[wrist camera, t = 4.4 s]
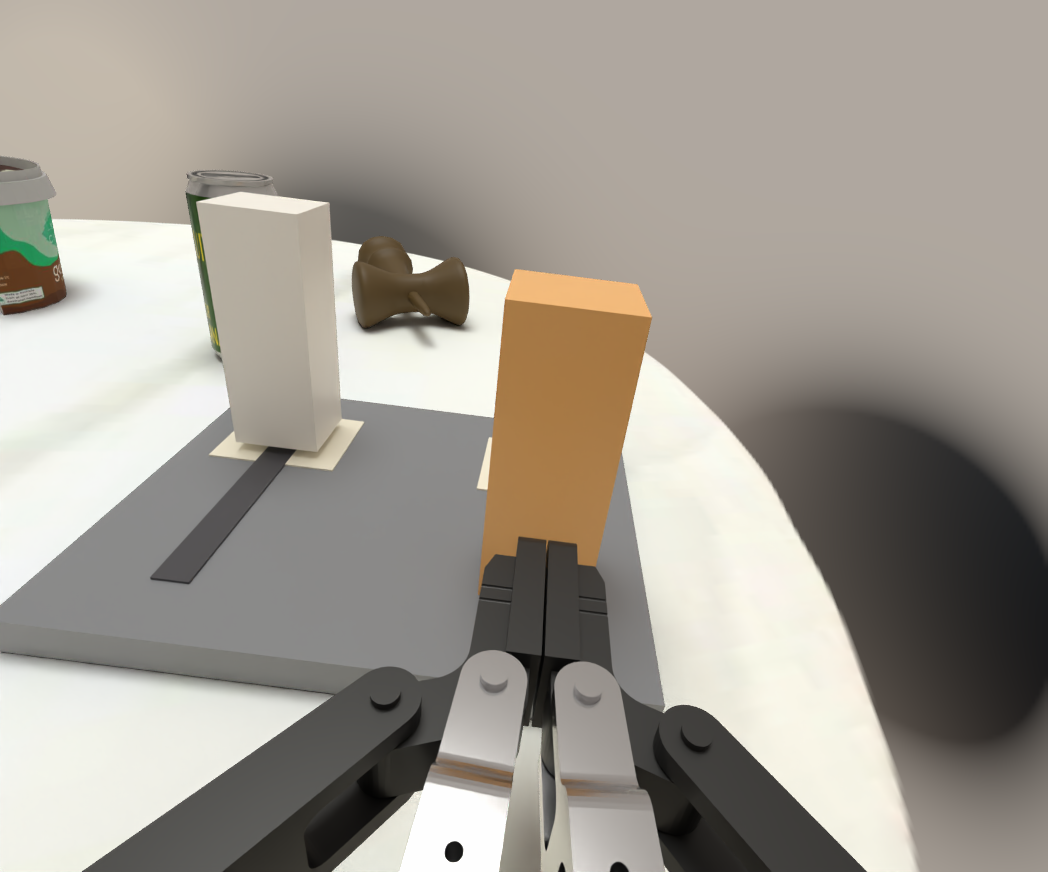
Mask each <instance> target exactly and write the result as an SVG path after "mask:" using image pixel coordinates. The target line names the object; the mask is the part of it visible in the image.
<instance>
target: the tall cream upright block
mask: <svg viewBox="0 0 1048 872" xmlns="http://www.w3.org/2000/svg"><path fill="white" fill-rule="evenodd" d="M196 204H197V210H198V216H199V222H200V228H201V234H202V240H203V246H204V252H205V258H206V264H207V270H208V276H209V282H210V288H211V295H212V301H213V307H214V313H215V319H216V325H217V331H218V337H219V343H220V349H221V355H222V361H223V367H224V373H225V379H226V385H227V391H228V397H229V403H230V409H231V415H232V421H233V427H234V433H235V439H236V442H240V443H248V444H256V445H264V446H272V447H280V448H288V449H296V450H304V451H312V452H318V450H319V449H320V448H321V446H322V445H323V444H324V442H325V441H326V440H327V438H328V437H329V435H330V434H331V433H332V431H333V430H334V429H335V427H336V426H337V425H338V423H339V422H340V421H341V419H342V416H341V399H340V382H339V364H338V347H337V330H336V313H335V295H334V278H333V261H332V244H331V226H330V210H329V203H326V202H318V201H309V200H301V199H294V198H285V197H278V196H270V195H262V194H254V193H246V192H237V193H233V194H229V195H224V196H220V197H215V198H211V199H207V200H202V201H198V202H196Z"/></svg>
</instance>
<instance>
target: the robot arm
mask: <svg viewBox="0 0 1048 872" xmlns="http://www.w3.org/2000/svg"><path fill="white" fill-rule="evenodd" d="M607 614H608V612H607V603H606V589H605V582H604V580H603V578H602V577H601V575H600V573H599V572H598V570H597V568H596V567H595V566H587V565H579V564H578V555H577V544H576V543H569V542H561V541H553V540H548V544H547V550H546V540H544V539H536V538H528V537H520V536H519V537H518V544H517V551H516V557H515V556H507V555H499V554H495V555H494V557H493V558H492V559H491V560H490V561H489V563H488V564H487V565H486V566H485V568H484V574H483V579H482V586H481V591H480V596H479V602H478V607H477V613H476V618H475V624H474V630H473V635H472V641H471V646H470V651H469V654H468V656H467V658H466V660H465V661H464V663H463V664H462V665H461V666H460V667H459V668H457V669H456V670H455V671H453V672H451V673H450V674H447V675H445V676H442V677H438V678H433V679H427V680H422V681H418V680H417V679H416V677H415V676H414V675H413V674H412V673H410V672H409V671H407V670H405V669H402V668H399V667H392V666H387V667H380V668H377V669H374V670H372V671H369V672H368V673H366V674H364V675H363V676H362V677H360V678H359V679H357V680H356V681H354V682H353V683H352V684H350V685H349V686H347V687H346V688H344V689H343V690H341V691H340V692H339V693H337V694H336V695H334V696H333V697H331V698H330V699H329V700H327V701H326V702H324V703H323V704H321V705H320V706H319V707H317V708H316V709H314V710H313V711H311V712H310V713H309V714H307V715H306V716H304V717H303V718H301V719H300V720H298V721H297V722H296V723H294V724H293V725H291V726H290V727H288V728H287V729H286V730H284V731H283V732H281V733H280V734H278V735H277V736H276V737H274V738H273V739H271V740H270V741H268V742H267V743H265V744H264V745H263V746H261V747H260V748H258V749H257V750H255V751H254V752H253V753H251V754H250V755H248V756H247V757H245V758H244V759H243V760H241V761H240V762H238V763H237V764H235V765H234V766H233V767H231V768H230V769H228V770H227V771H225V772H224V773H222V774H221V775H220V776H218V777H217V778H215V779H214V780H212V781H211V782H210V783H208V784H207V785H205V786H204V787H202V788H201V789H200V790H198V791H197V792H195V793H194V794H192V795H191V796H189V797H188V798H187V799H185V800H184V801H182V802H181V803H179V804H178V805H177V806H175V807H174V808H172V809H171V810H169V811H168V812H167V813H165V814H164V815H162V816H161V817H159V818H158V819H157V820H155V821H154V822H152V823H151V824H149V825H148V826H146V827H145V828H144V829H142V830H141V831H139V832H138V833H136V834H135V835H134V836H132V837H131V838H129V839H128V840H126V841H125V842H124V843H122V844H121V845H119V846H118V847H116V848H115V849H113V850H112V851H111V852H109V853H108V854H106V855H105V856H103V857H102V858H101V859H99V860H98V861H96V862H95V863H93V864H92V865H91V866H89V867H88V868H86V869H85V870H83V871H82V872H332V871H333V870H334V869H335V868H336V867H337V866H338V865H339V864H340V863H341V862H342V861H343V860H345V859H346V858H347V857H348V856H349V855H350V854H351V853H352V852H353V851H354V850H355V849H356V848H357V847H359V846H360V845H361V844H362V843H363V842H364V841H365V840H366V839H367V838H368V837H369V836H370V835H371V834H372V833H374V832H375V831H376V830H377V829H378V828H379V827H380V826H381V825H382V824H383V823H384V822H385V821H386V820H387V819H389V818H390V817H391V816H392V815H393V814H394V813H395V812H396V811H397V810H398V809H399V808H400V807H401V806H402V805H404V804H405V803H406V802H407V801H408V800H409V799H410V797H411V796H412V795H413V793H414V792H417V791H421V790H423V793H422V796H421V800H420V803H419V807H418V810H417V813H416V817H415V820H414V824H413V827H412V831H411V834H410V838H409V841H408V845H407V848H406V852H405V855H404V859H403V862H402V866H401V869H400V872H499V866H500V859H501V853H502V846H503V840H504V833H505V827H506V820H507V814H508V807H509V801H510V794H511V788H512V781H513V773H514V766H515V760H516V757H517V755H518V752H519V747H520V741H521V736H522V730H523V726H529V721H530V715H531V710H532V727H539V728H542V741H541V751H540V755H539V760H538V778H539V809H540V840H541V871H540V872H665V868H664V866H665V867H666V868H667V870H668V871H669V872H867V871H866V870H865V869H864V868H863V867H862V866H861V865H860V864H859V863H858V862H857V861H856V860H855V859H854V858H853V857H852V856H851V855H850V854H849V853H848V852H847V851H846V850H845V849H844V848H843V847H842V846H841V845H840V844H839V843H838V842H837V841H836V840H835V839H834V838H833V837H832V836H831V835H830V834H829V833H828V832H827V831H826V830H825V829H824V828H823V827H822V826H821V825H820V824H819V823H818V822H817V821H816V820H815V819H814V818H813V817H812V816H811V815H810V814H809V813H808V812H807V811H806V810H805V809H804V808H803V807H802V806H801V804H800V803H799V802H798V801H797V800H796V799H795V798H794V797H793V796H792V795H791V794H790V793H789V792H788V791H787V790H786V789H785V788H784V787H783V786H782V785H781V784H780V783H779V782H778V781H777V780H776V779H775V778H774V777H773V776H772V775H771V774H770V773H769V772H768V771H767V770H766V769H765V768H764V767H763V766H762V765H761V764H760V763H759V762H758V761H757V760H756V759H755V758H754V757H753V756H752V755H751V754H750V753H749V752H748V751H747V750H746V749H745V748H744V747H743V746H742V745H741V744H740V743H739V742H738V741H737V740H736V739H735V738H734V737H733V736H732V735H731V734H730V733H729V732H728V731H727V729H726V728H725V727H724V726H723V725H722V724H721V723H720V722H719V721H718V720H716V719H715V718H714V717H713V716H712V715H710V714H709V713H708V712H706V711H704V710H702V709H700V708H697V707H694V706H690V705H678V706H674V707H672V708H670V709H668V710H667V711H666V712H665V713H662V712H660V711H658V710H656V709H653V708H651V707H649V706H646V705H644V704H642V703H640V702H638V701H636V700H635V699H633V698H632V697H631V696H629V695H628V694H627V693H626V692H625V691H624V690H623V689H622V688H621V686H620V685H619V684H618V682H617V680H616V678H615V676H614V673H613V669H612V659H611V647H610V636H609V624H608V617H607ZM532 705H533V709H532Z"/></svg>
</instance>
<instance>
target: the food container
mask: <svg viewBox="0 0 1048 872" xmlns="http://www.w3.org/2000/svg"><path fill="white" fill-rule="evenodd" d="M55 195H56V192H55V189H54V188H53V186H52V184H51V182H50V180H49V178H48V176H47V174H46V173H44V172H43V171H41V169H40V166H39V164H38V163H36V162H33V161H30V160H25V159H20V158H14V157H7V156H0V311H1V312H2V314H3V315H7V314H14V313H21V312H26V311H31V310H35V309H39V308H44V307H46V306H49V305H52V304H55V303H57V302H59V301H61V300H62V299H63V298H65V297H66V288H65V283H64V278H63V273H62V268H61V264H60V259H59V254H58V249H57V244H56V239H55V234H54V229H53V224H52V219H51V214H50V210H49V205H48V200H47V199H49V198H52V197H54V196H55Z"/></svg>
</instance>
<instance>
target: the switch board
mask: <svg viewBox="0 0 1048 872" xmlns="http://www.w3.org/2000/svg"><path fill="white" fill-rule="evenodd" d="M341 416H342V419H341V421H340V422H339V423H338V425H337V426H336V427H335V429H334V430H333V431H332V433H331V434H330V435H329V437H328V438H327V440H326V441H325V442H324V444H323V445H322V446H321V448H320V449H319V450H318V452H312V451H304V450H296V449H288V448H280V447H272V446H264V445H256V444H248V443H240V442H236V439H235V433H234V427H233V421H232V415H231V409H230V408H229V409H228V410H226V411H225V412H224V413H223V414H222V415H221V416H219V417H218V418H217V419H216V420H215V421H214V422H212V423H211V424H210V425H209V426H208V427H207V428H206V429H204V430H203V431H202V432H201V433H200V434H199V435H197V436H196V437H195V438H194V439H193V440H192V441H190V442H189V443H188V444H187V445H186V446H185V447H183V448H182V449H181V450H180V451H179V452H178V453H177V454H175V455H174V456H173V457H172V458H171V459H170V460H168V461H167V462H166V463H165V464H164V465H163V466H161V467H160V468H159V469H158V470H157V471H156V472H155V473H153V474H152V475H151V476H150V477H149V478H148V479H146V480H145V481H144V482H143V483H142V484H141V485H139V486H138V487H137V488H136V489H135V490H134V491H132V492H131V493H130V494H129V495H128V496H127V497H126V498H124V499H123V500H122V501H121V502H120V503H119V504H117V505H116V506H115V507H114V508H113V509H112V510H110V511H109V512H108V513H107V514H106V515H105V516H103V517H102V518H101V519H100V520H99V521H98V522H97V523H95V524H94V525H93V526H92V527H91V528H90V529H88V530H87V531H86V532H85V533H84V534H83V535H81V536H80V537H79V538H78V539H77V540H76V541H74V542H73V543H72V544H71V545H70V546H69V547H68V548H66V549H65V550H64V551H63V552H62V553H61V554H59V555H58V556H57V557H56V558H55V559H54V560H52V561H51V562H50V563H49V564H48V565H47V566H46V567H44V568H43V569H42V570H41V571H40V572H39V573H37V574H36V575H35V576H34V577H33V578H32V579H30V580H29V581H28V582H27V583H26V584H25V585H23V586H22V587H21V588H20V589H19V590H18V591H17V592H15V593H14V594H13V595H12V596H11V597H10V598H8V599H7V600H6V601H5V602H4V603H3V604H1V605H0V652H7V653H15V654H23V655H30V656H38V657H46V658H54V659H62V660H70V661H78V662H86V663H94V664H102V665H110V666H117V667H125V668H133V669H141V670H149V671H157V672H165V673H173V674H181V675H189V676H197V677H204V678H212V679H220V680H228V681H236V682H244V683H252V684H260V685H268V686H276V687H284V688H291V689H299V690H307V691H315V692H323V693H331V694H337V693H339V692H340V691H341V690H343V689H344V688H346V687H347V686H349V685H350V684H352V683H353V682H354V681H356V680H357V679H359V678H360V677H362V676H363V675H364V674H366V673H368V672H369V671H372V670H374V669H377V668H380V667H387V666H392V667H399V668H402V669H405V670H407V671H409V672H410V673H412V674H413V675H414V676H415V677H416V679H417V680H418V681H422V680H427V679H433V678H438V677H442V676H445V675H447V674H450V673H451V672H453V671H455V670H456V669H457V668H459V667H460V666H461V665H462V664H463V663H464V661H465V660H466V658H467V656H468V654H469V651H470V646H471V641H472V635H473V630H474V624H475V618H476V613H477V607H478V602H479V596H480V595H478V586H479V576H480V565H481V554H482V543H483V532H484V521H485V511H486V500H487V489H488V478H489V467H490V456H491V446H492V435H493V424H494V418H490V417H482V416H474V415H466V414H458V413H450V412H442V411H434V410H426V409H418V408H410V407H402V406H395V405H387V404H379V403H371V402H363V401H355V400H347V399H341ZM596 568H597V570H598V572H599V573H600V575H601V577H602V578H603V580H604V582H605V589H606V603H607V612H608V614H607V617H608V624H609V636H610V647H611V659H612V669H613V673H614V676H615V678H616V680H617V682H618V684H619V685H620V686H621V688H622V689H623V690H624V691H625V692H626V693H627V694H628V695H629V696H631V697H632V698H633V699H635V700H636V701H638V702H640V703H642V704H644V705H646V706H649V707H651V708H653V709H656V710H658V711H660V712H663V710H664V707H665V704H664V698H663V692H662V687H661V681H660V675H659V669H658V663H657V657H656V651H655V645H654V639H653V634H652V628H651V622H650V616H649V610H648V604H647V598H646V592H645V586H644V581H643V575H642V569H641V563H640V557H639V551H638V545H637V539H636V533H635V528H634V522H633V516H632V510H631V504H630V498H629V492H628V486H627V480H626V475H625V469H624V463H623V457H622V453H621V457H620V461H619V466H618V470H617V475H616V479H615V484H614V488H613V492H612V497H611V501H610V506H609V510H608V515H607V519H606V523H605V528H604V532H603V537H602V541H601V546H600V550H599V554H598V559H597V563H596ZM532 709H533V705H532ZM530 719H532V710H531V715H530Z"/></svg>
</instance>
